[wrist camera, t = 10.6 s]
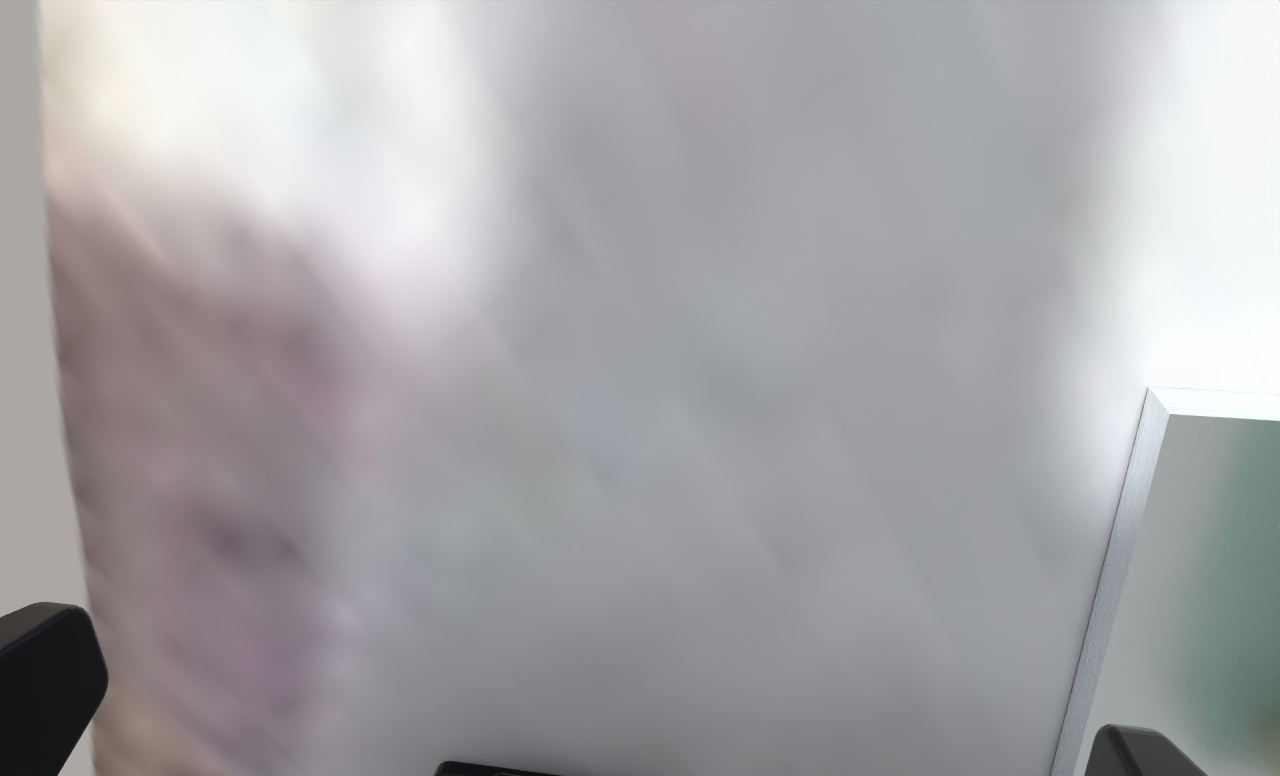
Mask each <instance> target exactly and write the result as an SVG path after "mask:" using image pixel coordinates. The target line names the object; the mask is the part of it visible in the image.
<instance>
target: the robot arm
mask: <svg viewBox="0 0 1280 776" xmlns="http://www.w3.org/2000/svg"><path fill="white" fill-rule="evenodd" d="M108 681H109V673H108V668H107V665H106V662H105V659H104V656H103V653H102V650H101V647H100V644H99V641H98V638H97V635H96V632H95V629H94V626H93V623H92V620H91V618H90V616H89V614H88V613H87V612H86V611H85V610H84V609H83V608H81V607H79V606H76V605H69V604H60V603H52V602H39V603H34V604H31V605H29V606H26V607H24V608H22V609H19V610H17V611H14V612H12V613H10V614H7V615H5V616H2V617H1V618H0V776H58V774H59V772H60V771H61V769H62V767H63V766H64V764H65V762H66V761H67V759H68V757H69V756H70V754H71V752H72V750H73V749H74V747H75V745H76V744H77V742H78V741H79V739H80V737H81V736H82V734H83V732H84V730H85V729H86V727H87V726H88V724H89V722H90V721H91V719H92V717H93V716H94V714H95V712H96V710H97V709H98V707H99V705H100V704H101V702H102V700H103V698H104V696H105V693H106V691H107V687H108ZM434 776H558V775H550V774H543V773H535V772H528V771H520V770H513V769H506V768H498V767H491V766H483V765H476V764H468V763H461V762H453V761H446V762H443V763H441V764H440V765H439V766H438V768H437V770H436V772H435V774H434ZM1084 776H1208V775H1207V774H1206V773H1205V772H1204V771H1202V770H1201V769H1200V768H1199V767H1198V766H1197V765H1196V764H1195V763H1194V762H1193V761H1192V760H1191V759H1190V758H1189V757H1187V756H1186V755H1185V754H1184V753H1183V752H1182V751H1181V750H1180V749H1179V748H1178V747H1177V746H1176V745H1175V744H1174V743H1172V742H1171V741H1170V740H1169V739H1168V738H1167V737H1166V736H1165V735H1163V734H1162V733H1160V732H1158V731H1157V730H1154V729H1150V728H1143V727H1134V726H1125V725H1117V724H1107V725H1104V726H1102V727H1100V729H1099V730H1098V731H1097V733H1096V735H1095V738H1094V741H1093V745H1092V748H1091V752H1090V756H1089V759H1088V763H1087V766H1086V770H1085V774H1084Z"/></svg>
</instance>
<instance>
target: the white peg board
mask: <svg viewBox="0 0 1280 776" xmlns="http://www.w3.org/2000/svg"><path fill="white" fill-rule="evenodd" d="M1107 724H1117V725H1125V726H1134V727H1143V728H1150V729H1154V730H1157V731H1158V732H1160V733H1162V734H1163V735H1165V736H1166V737H1167V738H1168V739H1169V740H1170V741H1171V742H1172V743H1174V744H1175V745H1176V746H1177V747H1178V748H1179V749H1180V750H1181V751H1182V752H1183V753H1184V754H1185V755H1186V756H1187V757H1189V758H1190V759H1191V760H1192V761H1193V762H1194V763H1195V764H1196V765H1197V766H1198V767H1199V768H1200V769H1201V770H1202V771H1204V772H1205V773H1206V774H1207V775H1208V776H1280V395H1277V394H1261V393H1244V392H1227V391H1210V390H1193V389H1176V388H1159V387H1149V388H1148V392H1147V396H1146V399H1145V403H1144V407H1143V411H1142V415H1141V419H1140V423H1139V427H1138V431H1137V435H1136V439H1135V443H1134V447H1133V451H1132V455H1131V459H1130V463H1129V467H1128V471H1127V475H1126V479H1125V482H1124V486H1123V490H1122V494H1121V498H1120V502H1119V506H1118V510H1117V514H1116V518H1115V522H1114V526H1113V530H1112V534H1111V538H1110V542H1109V546H1108V550H1107V554H1106V558H1105V562H1104V565H1103V569H1102V573H1101V577H1100V581H1099V585H1098V589H1097V593H1096V597H1095V601H1094V605H1093V609H1092V613H1091V617H1090V621H1089V625H1088V629H1087V633H1086V637H1085V641H1084V645H1083V648H1082V652H1081V656H1080V660H1079V664H1078V668H1077V672H1076V676H1075V680H1074V684H1073V688H1072V692H1071V696H1070V700H1069V704H1068V708H1067V712H1066V716H1065V720H1064V724H1063V728H1062V732H1061V735H1060V739H1059V743H1058V747H1057V751H1056V755H1055V759H1054V763H1053V767H1052V771H1051V775H1050V776H1084V774H1085V770H1086V766H1087V763H1088V759H1089V756H1090V752H1091V748H1092V745H1093V741H1094V738H1095V735H1096V733H1097V731H1098V730H1099V729H1100V727H1102V726H1104V725H1107Z"/></svg>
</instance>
